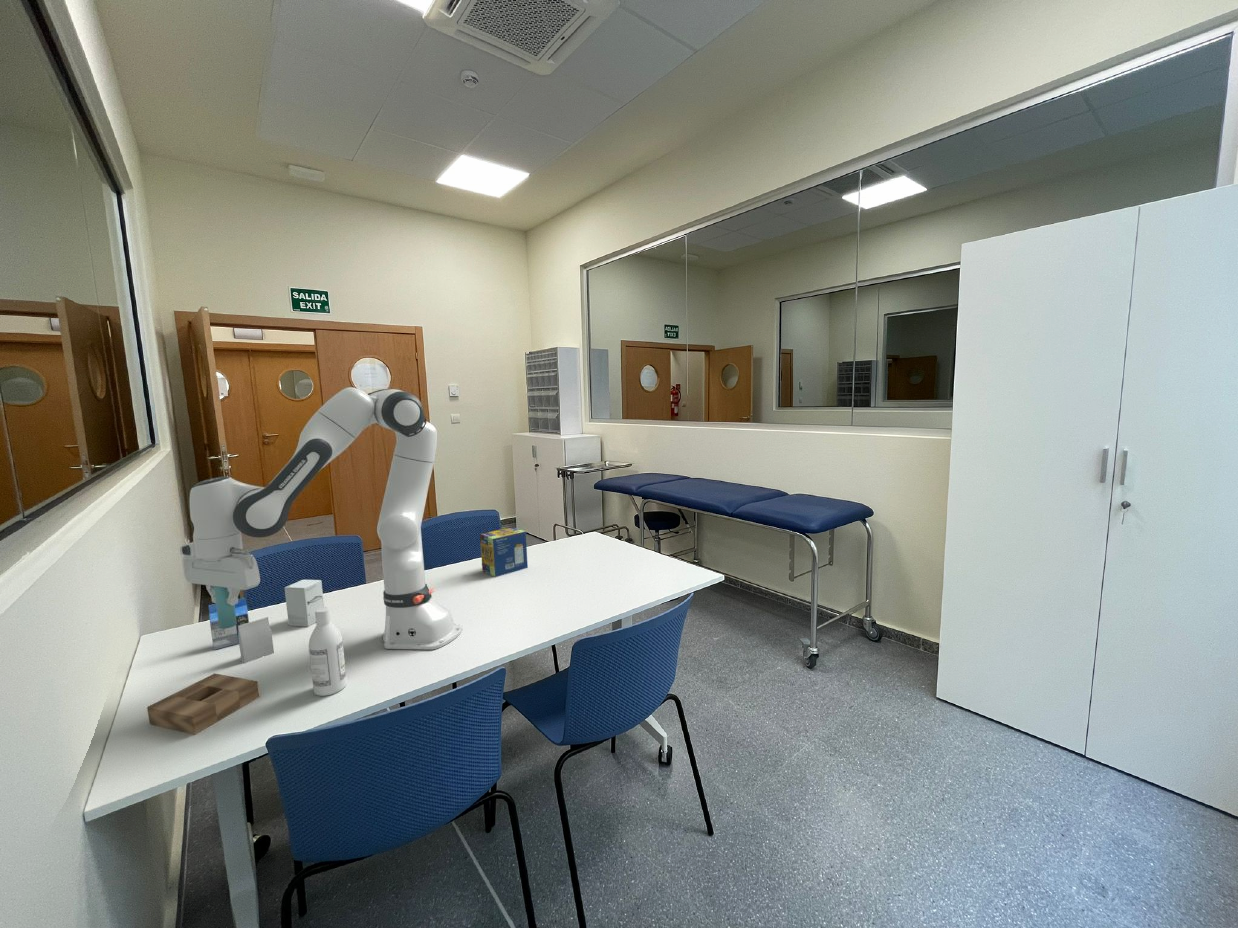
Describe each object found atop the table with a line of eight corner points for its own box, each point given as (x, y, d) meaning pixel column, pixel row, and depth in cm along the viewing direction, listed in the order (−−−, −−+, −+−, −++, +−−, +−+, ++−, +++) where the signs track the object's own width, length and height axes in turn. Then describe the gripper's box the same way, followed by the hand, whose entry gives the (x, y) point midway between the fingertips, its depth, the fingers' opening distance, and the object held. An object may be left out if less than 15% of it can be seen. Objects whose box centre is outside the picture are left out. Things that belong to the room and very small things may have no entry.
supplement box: (308, 627, 157) (303, 588, 156) (287, 625, 159) (283, 587, 157) (326, 617, 164) (322, 579, 163) (306, 615, 166) (302, 578, 164)
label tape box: (213, 650, 144) (207, 609, 142) (213, 645, 147) (207, 605, 145) (251, 640, 149) (246, 600, 148) (250, 636, 152) (245, 596, 151)
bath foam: (340, 677, 127) (331, 601, 125) (352, 686, 123) (343, 607, 120) (309, 690, 122) (300, 610, 119) (320, 700, 117) (311, 618, 115)
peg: (240, 623, 122) (234, 575, 121) (225, 629, 119) (220, 580, 118) (230, 621, 123) (224, 574, 122) (215, 627, 120) (209, 578, 119)
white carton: (274, 653, 141) (269, 618, 140) (244, 663, 136) (240, 627, 135) (270, 649, 144) (265, 615, 142) (241, 658, 139) (236, 624, 137)
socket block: (259, 696, 120) (257, 680, 119) (195, 734, 107) (192, 716, 106) (216, 688, 124) (214, 673, 123) (149, 723, 111) (147, 706, 110)
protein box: (481, 571, 204) (479, 533, 202) (515, 562, 214) (512, 526, 212) (494, 577, 196) (492, 538, 194) (528, 567, 207) (526, 530, 205)
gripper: (264, 545, 119) (270, 602, 120) (203, 540, 125) (209, 594, 127) (237, 553, 113) (243, 613, 114) (174, 547, 119) (181, 603, 121)
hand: (225, 603), depth 121 cm, fingers closed on peg, 3 cm apart
